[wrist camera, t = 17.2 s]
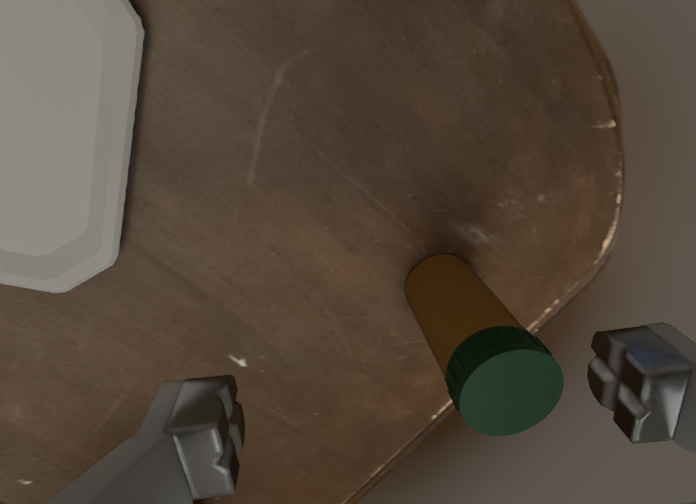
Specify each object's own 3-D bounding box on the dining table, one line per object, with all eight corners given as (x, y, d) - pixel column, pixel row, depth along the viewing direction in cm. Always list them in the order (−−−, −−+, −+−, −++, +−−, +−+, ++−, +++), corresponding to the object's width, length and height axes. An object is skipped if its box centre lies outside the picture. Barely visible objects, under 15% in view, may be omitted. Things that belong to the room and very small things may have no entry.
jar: (407, 254, 34) (465, 348, 23) (479, 253, 35) (566, 343, 24) (401, 318, 37) (452, 431, 26) (469, 316, 37) (545, 424, 26)
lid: (450, 326, 25) (466, 351, 23) (552, 322, 26) (576, 346, 24) (438, 411, 27) (451, 440, 25) (532, 405, 28) (552, 433, 26)
